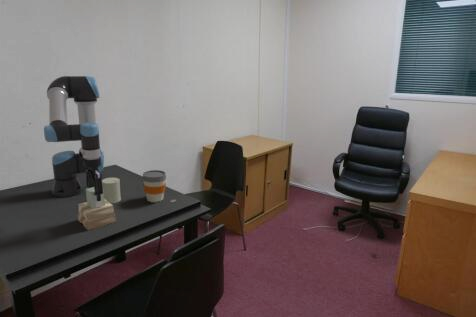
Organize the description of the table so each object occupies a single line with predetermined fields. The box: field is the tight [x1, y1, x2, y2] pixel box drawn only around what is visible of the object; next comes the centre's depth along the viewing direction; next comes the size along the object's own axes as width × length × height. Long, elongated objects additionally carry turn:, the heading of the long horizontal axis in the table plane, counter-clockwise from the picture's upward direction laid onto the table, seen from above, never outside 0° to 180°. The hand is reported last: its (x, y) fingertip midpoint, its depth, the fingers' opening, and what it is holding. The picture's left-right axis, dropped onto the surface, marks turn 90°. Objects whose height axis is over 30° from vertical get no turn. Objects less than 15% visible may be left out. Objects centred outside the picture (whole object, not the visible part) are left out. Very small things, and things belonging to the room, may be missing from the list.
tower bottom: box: [77, 211, 117, 231], centre depth 166 cm, size 13×13×4 cm
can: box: [102, 177, 122, 204], centre depth 189 cm, size 9×9×12 cm
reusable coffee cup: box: [142, 169, 167, 203], centre depth 192 cm, size 13×13×15 cm
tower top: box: [77, 200, 115, 222], centre depth 164 cm, size 12×12×4 cm
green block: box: [85, 187, 105, 209], centre depth 162 cm, size 6×6×8 cm
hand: (96, 204), depth 163 cm, fingers closed on green block, 6 cm apart
